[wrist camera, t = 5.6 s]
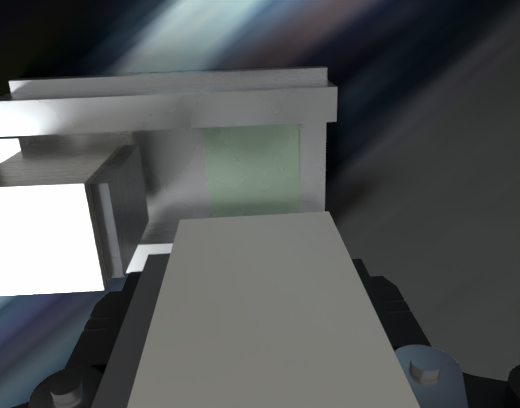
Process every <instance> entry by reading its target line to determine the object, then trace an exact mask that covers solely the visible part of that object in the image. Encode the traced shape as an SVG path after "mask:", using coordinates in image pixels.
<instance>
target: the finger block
mask: <svg viewBox="0 0 520 408" xmlns="http://www.w3.org/2000/svg"><path fill="white" fill-rule="evenodd" d="M91 408H420V406H419V404H418V402H417V400H416V398H415V395H414V393H413V391H412V389H411V387H410V385H409V382H408V380H407V378H406V376H405V374H404V372H403V370H402V367H401V365H400V363H399V361H398V359H397V357H396V355H395V352H394V350H393V348H392V346H391V344H390V342H389V340H388V337H387V335H386V333H385V331H384V329H383V327H382V325H381V322H380V320H379V318H378V316H377V314H376V312H375V309H374V307H373V305H372V303H371V301H370V299H369V297H368V294H367V292H366V290H365V288H364V286H363V284H362V282H361V279H360V277H359V275H358V273H357V271H356V269H355V267H354V264H353V262H352V260H351V258H350V256H349V254H348V252H347V249H346V247H345V245H344V243H343V241H342V239H341V236H340V234H339V232H338V230H337V228H336V226H335V224H334V221H333V219H332V217H331V215H330V213H329V211H326V212H309V213H291V214H273V215H255V216H237V217H219V218H201V219H183V220H180V221H179V225H178V229H177V232H176V236H175V239H174V243H173V246H172V250H171V253H164V254H148V257H147V260H146V262H145V265H144V268H143V270H142V273H141V276H140V278H139V281H138V284H137V286H136V289H135V292H134V294H133V297H132V300H131V302H130V305H129V308H128V310H127V313H126V316H125V318H124V321H123V324H122V327H121V329H120V332H119V335H118V337H117V340H116V343H115V345H114V348H113V351H112V353H111V356H110V359H109V361H108V364H107V367H106V369H105V372H104V375H103V377H102V380H101V383H100V385H99V388H98V391H97V393H96V396H95V399H94V401H93V404H92V407H91Z"/></svg>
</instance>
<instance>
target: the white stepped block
mask: <svg viewBox="0 0 520 408" xmlns="http://www.w3.org/2000/svg"><path fill="white" fill-rule="evenodd" d="M9 85H10V89H11V93H9V94H6V95H3V96H0V296H4V295H23V294H42V293H61V292H81V291H100V290H105V288H106V286H107V284H108V282H109V280H110V278H115V277H124V276H125V273H130V272H136V271H142V270H143V268H144V265H145V262H146V260H147V257H148V254H164V253H171V250H172V246H173V243H174V239H175V236H176V232H177V229H178V225H179V221H180V220H183V219H201V218H219V217H237V216H255V215H273V214H291V213H309V212H325V170H326V122H337V86H336V85H334V84H333V83H331V82H330V81H329V80H327V67H325V66H324V65H321V66H298V67H274V68H250V69H227V70H203V71H179V72H156V73H132V74H109V75H85V76H61V77H38V78H18V79H15V80H11V81H9Z"/></svg>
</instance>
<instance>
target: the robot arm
mask: <svg viewBox="0 0 520 408" xmlns="http://www.w3.org/2000/svg"><path fill="white" fill-rule="evenodd" d="M351 260H352V262H353V264H354V267H355V269H356V271H357V273H358V275H359V277H360V279H361V282H362V284H363V286H364V288H365V290H366V292H367V294H368V297H369V299H370V301H371V303H372V305H373V307H374V309H375V312H376V314H377V316H378V318H379V320H380V322H381V325H382V327H383V329H384V331H385V333H386V335H387V337H388V340H389V342H390V344H391V346H392V348H393V350H394V352H395V355H396V357H397V359H398V361H399V363H400V365H401V367H402V370H403V372H404V374H405V376H406V378H407V380H408V382H409V385H410V387H411V389H412V391H413V393H414V395H415V398H416V400H417V402H418V404H419V406H420V408H520V365H518V366H516V367H515V368H513V369H512V370H511V372H510V374H509V377H508V382H507V381H501V380H495V379H489V378H484V377H478V376H474V375H470V374H467V373H464V372H462V370H461V368H460V366H459V364H458V363H457V362H456V361H455V360H454V359H453V358H452V357H451V356H449V355H448V354H447V353H445V352H443V351H441V350H439V349H436V348H433V347H432V346H431V345H430V343H429V341H428V339H427V338H426V336H425V334H424V333H423V331H422V329H421V327H420V326H419V324H418V322H417V321H416V319H415V317H414V315H413V314H412V312H410V309H409V307H408V305H407V303H406V302H405V301H404V298H403V297H402V295H401V293H400V291H399V290H398V288H397V286H395V285H394V284H393V283H391V282H390V281H388V280H387V279H386V278H384V277H383V276H375V277H370V275H369V274H368V272H367V270H366V268H365V266H364V264H363V262H362V260H361V259H351ZM141 273H142V271H136V272H130V273H129V275H128V277H127V280H126V282H125V284H124V287H123V289H122V291H115V292H109V293H108V294H107V295H106V296H105V297H103V298H102V299H101V300H100V301H99V302H98V303H97V304H96V305H95V307H94V309H93V311H92V313H91V315H90V317H89V318H90V320H88V321H87V323H86V326H85V328H84V331H83V332H82V334H81V336H80V338H79V340H78V342H77V344H76V346H75V348H74V350H73V352H72V354H71V356H70V358H69V360H68V362H67V364H66V366H65V368H64V369H62V370H60V371H57V372H55V373H53V374H51V375H50V376H48V377H47V378H45V379H44V380H43V381H41V382H40V383H39V384H38V385H37V386H36V387H35V389H34V390H33V392H32V393H31V395H30V398H29V402H27V403H24V404H21V405H19V406H15V407H12V408H91V407H92V404H93V401H94V399H95V396H96V393H97V391H98V388H99V385H100V383H101V380H102V377H103V375H104V372H105V369H106V367H107V364H108V361H109V359H110V356H111V353H112V351H113V348H114V345H115V343H116V340H117V337H118V335H119V332H120V329H121V327H122V324H123V321H124V318H125V316H126V313H127V310H128V308H129V305H130V302H131V300H132V297H133V294H134V292H135V289H136V286H137V284H138V281H139V278H140V276H141Z"/></svg>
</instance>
